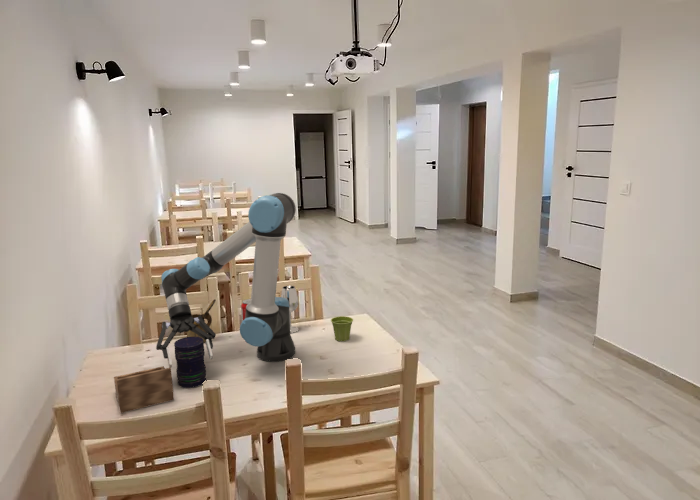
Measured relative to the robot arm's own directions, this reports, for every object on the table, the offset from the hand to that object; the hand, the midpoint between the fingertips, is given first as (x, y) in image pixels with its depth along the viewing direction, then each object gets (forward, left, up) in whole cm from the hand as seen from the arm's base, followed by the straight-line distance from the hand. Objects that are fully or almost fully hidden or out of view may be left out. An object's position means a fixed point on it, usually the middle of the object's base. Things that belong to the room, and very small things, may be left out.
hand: (191, 361), depth 171 cm
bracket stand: (+12, +10, -8) cm, 18 cm away
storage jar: (+1, -2, -8) cm, 9 cm away
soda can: (-3, -49, -8) cm, 50 cm away
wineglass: (-19, -55, -8) cm, 58 cm away
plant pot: (-44, -48, -8) cm, 65 cm away
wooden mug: (+15, -38, -8) cm, 42 cm away
